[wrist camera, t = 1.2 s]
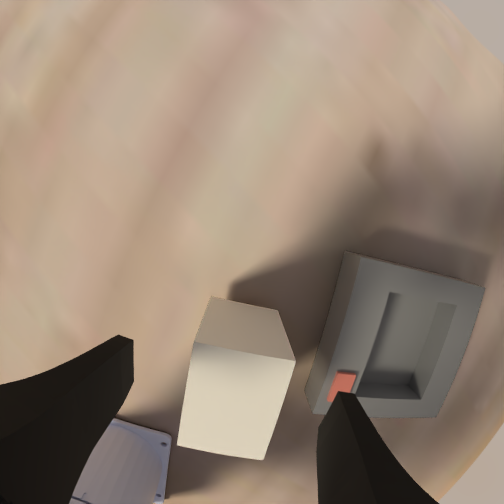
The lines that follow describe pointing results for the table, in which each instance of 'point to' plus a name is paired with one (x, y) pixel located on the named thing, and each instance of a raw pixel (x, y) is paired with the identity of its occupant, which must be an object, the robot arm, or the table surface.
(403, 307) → the socket
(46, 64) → the table surface
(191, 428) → the plug
